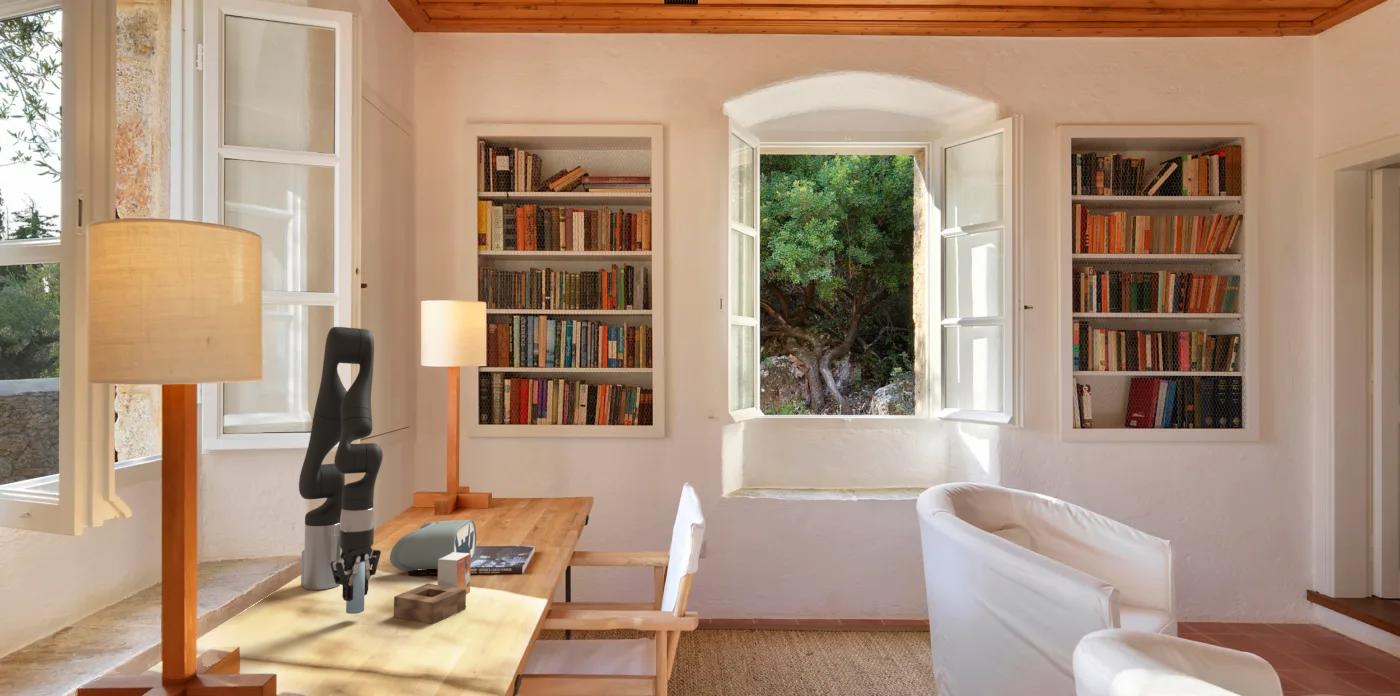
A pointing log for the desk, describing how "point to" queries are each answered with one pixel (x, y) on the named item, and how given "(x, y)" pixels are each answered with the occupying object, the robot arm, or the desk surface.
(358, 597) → the peg
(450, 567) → the small box
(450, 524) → the pencil case
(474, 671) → the desk surface
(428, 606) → the socket block
